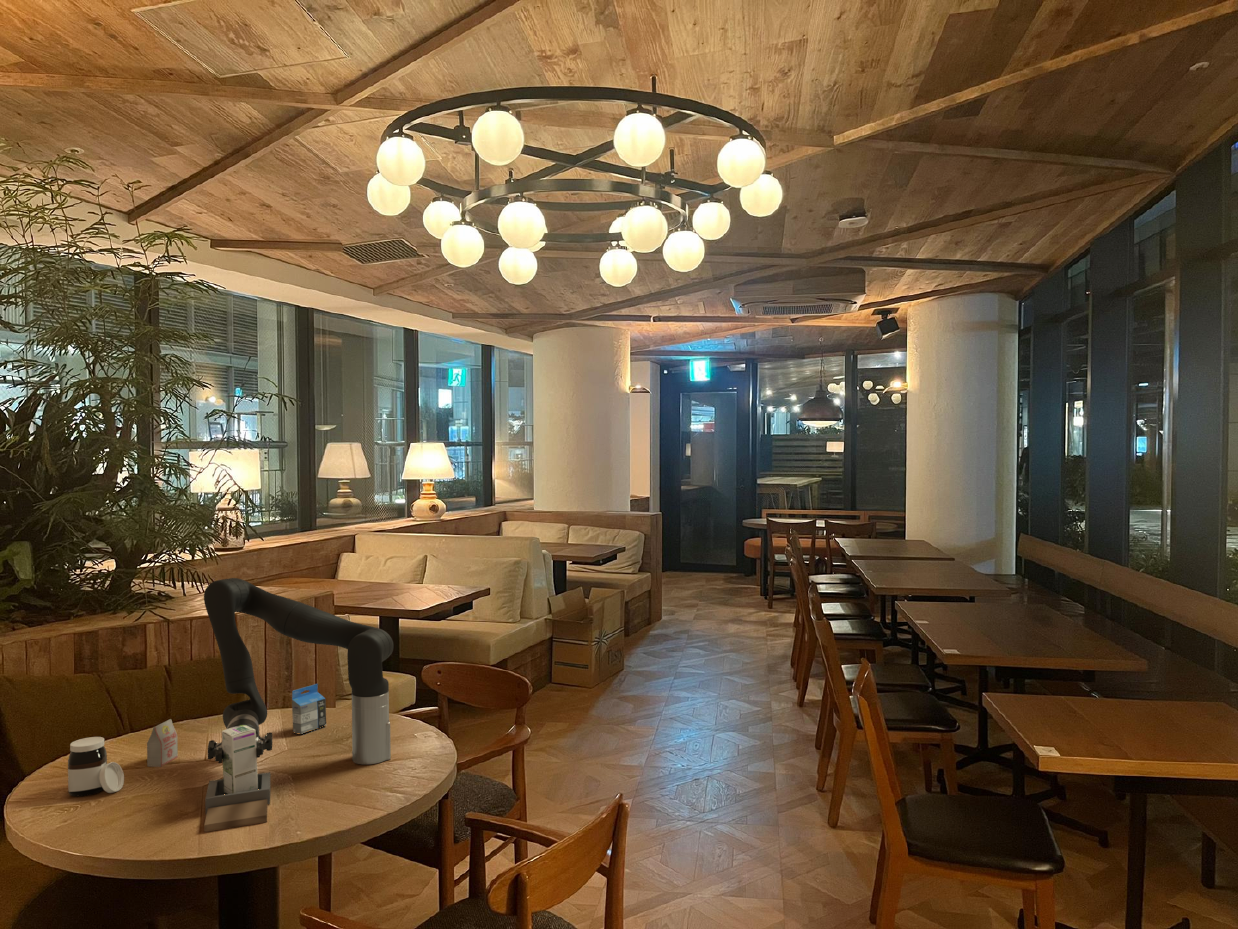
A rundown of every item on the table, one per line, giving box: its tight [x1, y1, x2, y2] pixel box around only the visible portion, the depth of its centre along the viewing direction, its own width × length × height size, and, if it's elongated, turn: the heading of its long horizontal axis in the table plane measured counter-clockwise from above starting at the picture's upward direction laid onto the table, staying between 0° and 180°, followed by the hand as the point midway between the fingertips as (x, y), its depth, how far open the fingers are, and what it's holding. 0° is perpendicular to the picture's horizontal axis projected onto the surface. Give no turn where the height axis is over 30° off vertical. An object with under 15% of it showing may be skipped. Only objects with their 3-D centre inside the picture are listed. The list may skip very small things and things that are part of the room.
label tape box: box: [291, 683, 327, 735], centre depth 235 cm, size 9×4×12 cm, turn 149°
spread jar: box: [67, 736, 125, 797], centre depth 193 cm, size 12×11×12 cm
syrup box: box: [221, 725, 258, 794], centre depth 187 cm, size 6×6×14 cm
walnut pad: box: [203, 799, 268, 833], centre depth 177 cm, size 12×9×2 cm
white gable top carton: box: [146, 718, 179, 768], centre depth 211 cm, size 4×7×10 cm, turn 175°
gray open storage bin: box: [204, 771, 271, 815], centre depth 187 cm, size 13×11×4 cm
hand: (239, 756), depth 185 cm, fingers closed on syrup box, 7 cm apart
